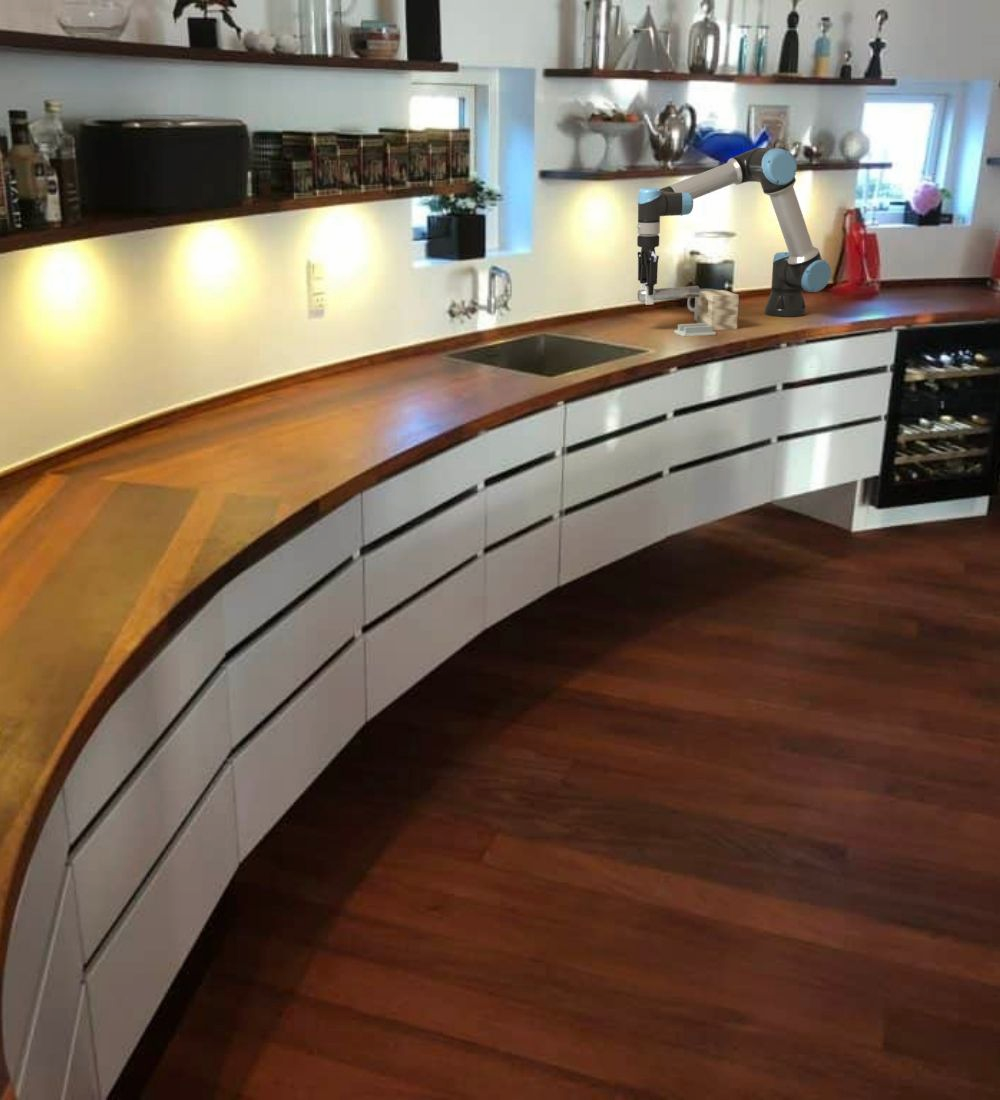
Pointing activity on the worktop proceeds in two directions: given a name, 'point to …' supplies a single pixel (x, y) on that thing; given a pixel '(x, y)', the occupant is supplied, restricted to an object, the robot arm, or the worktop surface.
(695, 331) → the cradle
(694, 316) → the mug
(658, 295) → the axle
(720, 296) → the patterned beige cube
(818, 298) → the worktop surface
